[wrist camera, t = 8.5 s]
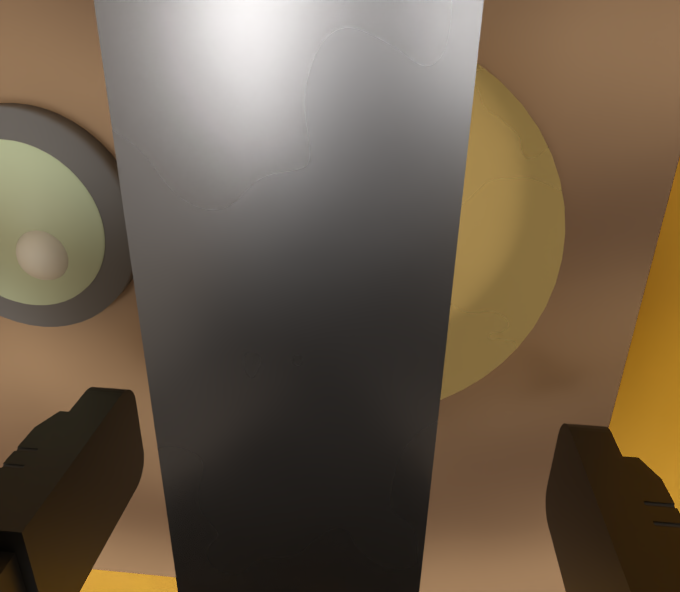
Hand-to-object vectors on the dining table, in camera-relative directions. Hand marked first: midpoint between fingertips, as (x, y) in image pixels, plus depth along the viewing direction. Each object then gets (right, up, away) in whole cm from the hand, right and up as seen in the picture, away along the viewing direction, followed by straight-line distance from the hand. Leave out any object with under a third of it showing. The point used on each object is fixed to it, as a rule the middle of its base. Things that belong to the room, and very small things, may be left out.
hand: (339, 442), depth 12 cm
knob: (0, +4, +1) cm, 4 cm away
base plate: (-6, +5, +3) cm, 9 cm away
